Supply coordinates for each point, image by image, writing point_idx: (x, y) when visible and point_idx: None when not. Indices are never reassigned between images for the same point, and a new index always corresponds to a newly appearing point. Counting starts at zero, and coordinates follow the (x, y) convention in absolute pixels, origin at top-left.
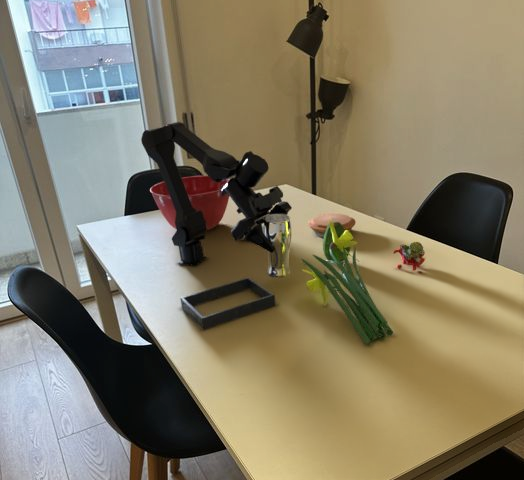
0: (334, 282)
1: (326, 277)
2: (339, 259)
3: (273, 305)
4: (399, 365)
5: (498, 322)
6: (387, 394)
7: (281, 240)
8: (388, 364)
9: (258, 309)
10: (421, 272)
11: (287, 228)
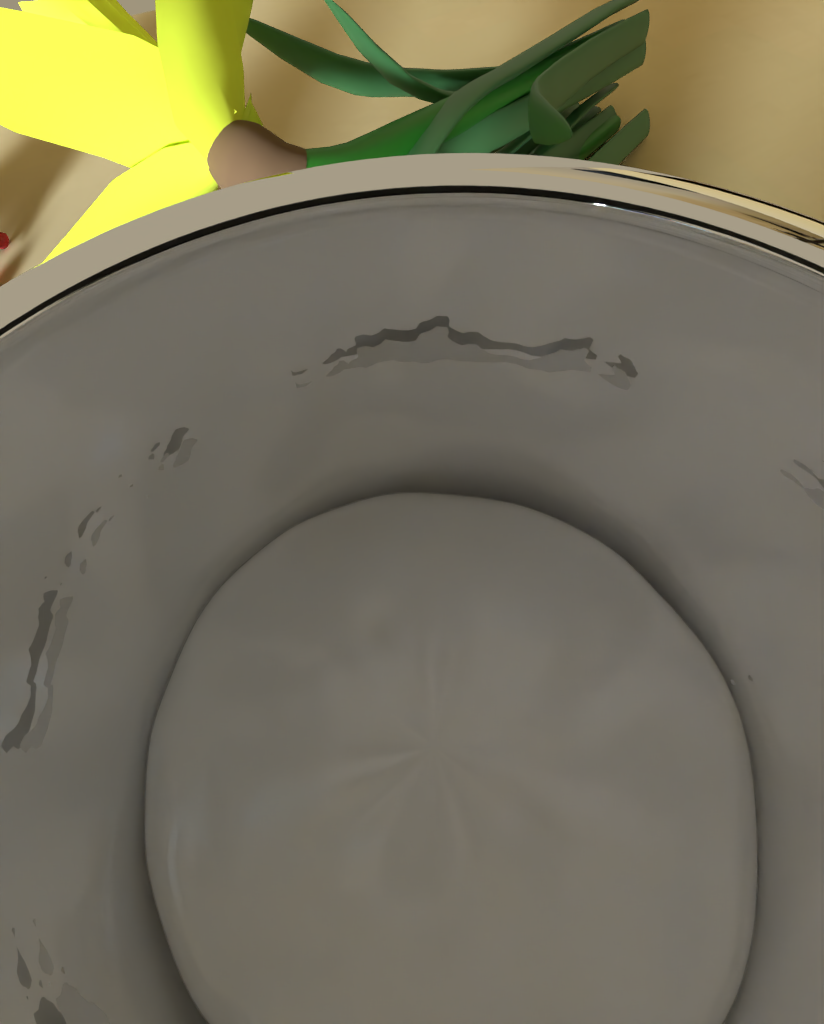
0: None
1: None
2: None
3: None
4: (664, 52)
5: (292, 5)
6: (797, 22)
7: (579, 519)
8: (683, 67)
9: None
10: (5, 234)
11: (446, 358)
